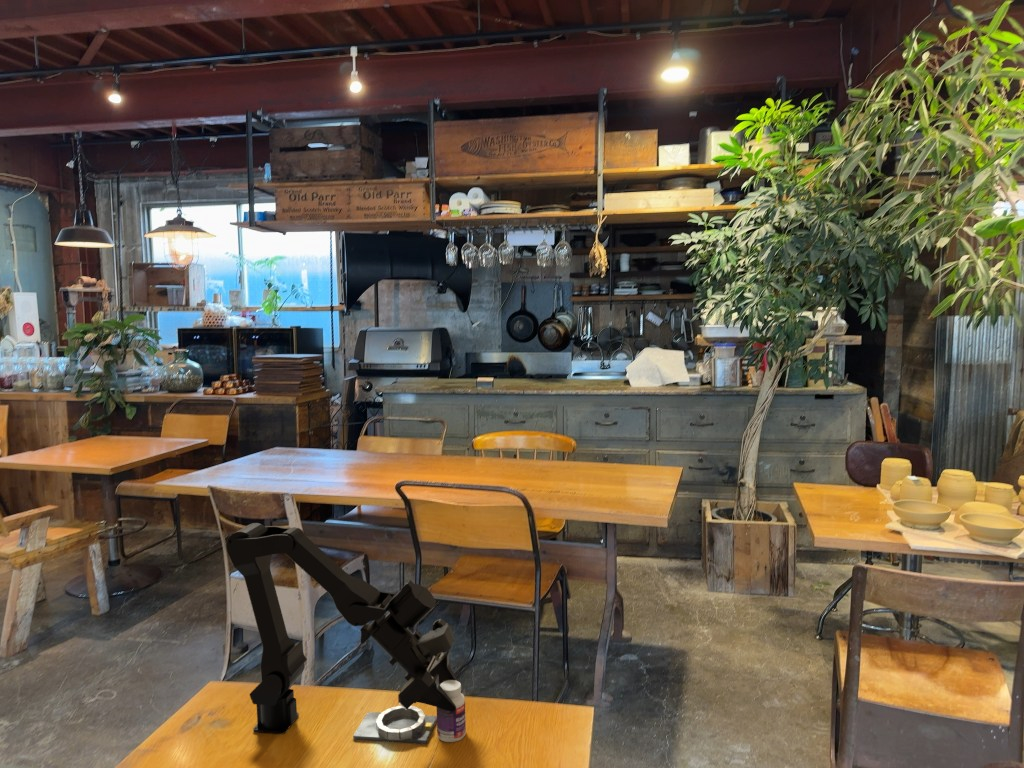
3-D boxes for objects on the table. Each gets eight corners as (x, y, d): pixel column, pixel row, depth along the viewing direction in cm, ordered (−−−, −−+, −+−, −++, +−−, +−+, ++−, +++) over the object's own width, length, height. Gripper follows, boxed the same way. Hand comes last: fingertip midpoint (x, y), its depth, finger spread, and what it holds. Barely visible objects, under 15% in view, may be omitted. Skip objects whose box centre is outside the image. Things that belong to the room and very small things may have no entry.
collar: (370, 738, 126) (369, 730, 126) (385, 711, 135) (385, 704, 135) (425, 742, 125) (425, 734, 125) (437, 714, 134) (437, 707, 134)
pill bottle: (461, 744, 125) (460, 693, 124) (433, 741, 126) (431, 691, 125) (469, 727, 130) (467, 678, 130) (442, 725, 131) (440, 676, 131)
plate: (353, 739, 127) (353, 735, 127) (368, 715, 135) (367, 711, 135) (426, 744, 125) (426, 740, 125) (436, 719, 133) (436, 715, 133)
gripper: (413, 636, 118) (478, 700, 117) (439, 594, 136) (495, 650, 136) (371, 677, 119) (434, 741, 119) (402, 631, 138) (457, 686, 137)
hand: (457, 701), depth 128 cm, fingers closed on pill bottle, 5 cm apart
